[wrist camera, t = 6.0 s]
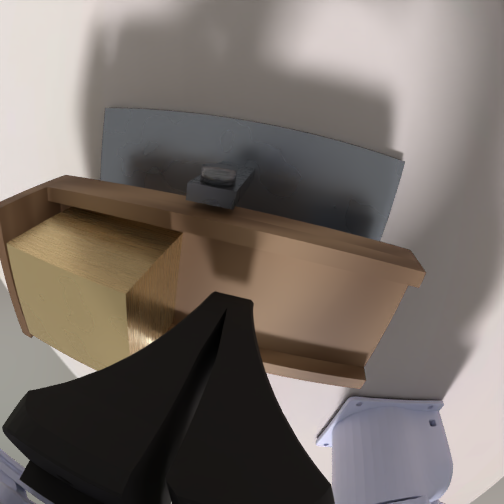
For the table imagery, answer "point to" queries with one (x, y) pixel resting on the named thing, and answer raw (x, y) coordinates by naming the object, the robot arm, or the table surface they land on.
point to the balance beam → (252, 272)
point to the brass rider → (96, 283)
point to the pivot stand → (251, 167)
